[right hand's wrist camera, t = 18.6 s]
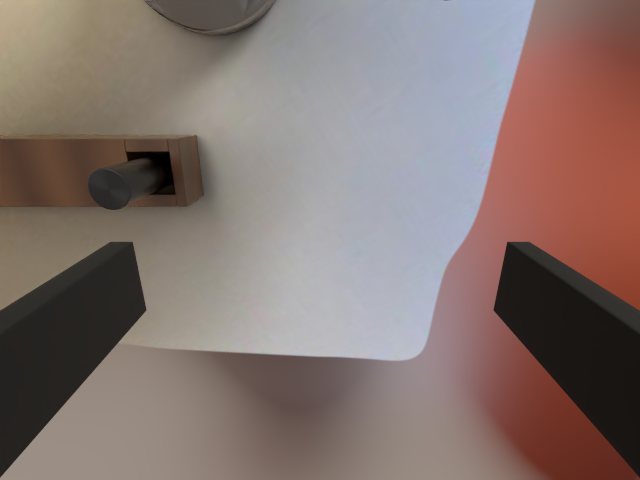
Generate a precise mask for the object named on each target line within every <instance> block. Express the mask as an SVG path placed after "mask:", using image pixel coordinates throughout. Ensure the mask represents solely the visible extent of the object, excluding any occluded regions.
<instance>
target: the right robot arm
mask: <svg viewBox="0 0 640 480" xmlns="http://www.w3.org/2000/svg"><path fill="white" fill-rule="evenodd" d="M144 1H145V2H146V3H147V4H148V5H149V6H150V7H152V8H153V9H154V10H155V11H157V12H158V13H159V14H160V15H162V16H164V17H165V18H167V19H168V20H170V21H172V22H173V23H175V24H177V25H179V26H181V27H183V28H185V29H187V30H190V31H193V32H197V33H201V34H207V35H223V34H229V33H233V32H236V31H239V30H241V29H244V28H246V27H248V26H249V25H251V24H253V23H254V22H256V21H257V20H258V19H259V18H261V17H262V16H263V15H264V14H265V13H266V12H267V11H268V10H269V8H270V7H271V6H272V5H273V3H274V2H275V0H144ZM446 1H447V0H446ZM145 311H146V306H145V301H144V296H143V291H142V286H141V281H140V276H139V271H138V266H137V261H136V256H135V251H134V246H133V242H110V243H108V244H107V245H105V246H103V247H102V248H100V249H99V250H97V251H95V252H94V253H92V254H91V255H89V256H87V257H86V258H84V259H83V260H81V261H79V262H78V263H76V264H75V265H73V266H71V267H70V268H68V269H67V270H65V271H63V272H62V273H60V274H59V275H57V276H55V277H54V278H52V279H51V280H49V281H47V282H46V283H44V284H42V285H41V286H39V287H38V288H36V289H34V290H33V291H31V292H30V293H28V294H26V295H25V296H23V297H22V298H20V299H18V300H17V301H15V302H14V303H12V304H10V305H9V306H7V307H6V308H4V309H2V310H1V311H0V477H1V476H2V475H3V474H4V472H5V471H6V470H7V469H8V468H9V467H10V466H11V465H12V463H13V462H14V461H15V460H16V459H17V458H18V457H19V455H20V454H21V453H22V452H23V451H24V450H25V449H26V447H27V446H28V445H29V444H30V443H31V442H32V440H33V439H34V438H35V437H36V436H37V435H38V434H39V432H40V431H41V430H42V429H43V428H44V427H45V426H46V424H47V423H48V422H49V421H50V420H51V419H52V418H53V416H54V415H55V414H56V413H57V412H58V411H59V410H60V408H61V407H62V406H63V405H64V404H65V403H66V402H67V400H68V399H69V398H70V397H71V396H72V395H73V394H74V392H75V391H76V390H77V389H78V388H79V387H80V386H81V384H82V383H83V382H84V381H85V380H86V379H87V378H88V376H89V375H90V374H91V373H92V372H93V371H94V370H95V368H96V367H97V366H98V365H99V364H100V363H101V361H102V360H103V359H104V358H105V357H106V356H107V355H108V354H109V352H110V351H111V350H112V349H113V348H114V347H115V346H116V344H117V343H118V342H119V341H120V340H121V339H122V338H123V336H124V335H125V334H126V333H127V332H128V331H129V330H130V328H131V327H132V326H133V325H134V324H135V323H136V322H137V320H138V319H139V318H140V317H141V316H142V315H143V314H144V312H145ZM494 311H495V312H496V314H497V315H498V316H499V317H500V318H501V319H502V320H503V322H504V323H505V324H506V325H507V326H508V327H509V328H510V330H511V331H512V332H513V333H514V334H515V335H516V336H517V338H518V339H519V340H520V341H521V342H522V343H523V344H524V345H525V347H526V348H527V349H528V350H529V351H530V352H531V354H532V355H533V356H534V357H535V358H536V359H537V360H538V362H539V363H540V364H541V365H542V366H543V367H544V368H545V370H546V371H547V372H548V373H549V374H550V375H551V376H552V378H553V379H554V380H555V381H556V382H557V383H558V384H559V386H560V387H561V388H562V389H563V390H564V391H565V392H566V394H567V395H568V396H569V397H570V398H571V399H572V400H573V402H574V403H575V404H576V405H577V406H578V407H579V408H580V410H581V411H582V412H583V413H584V414H585V415H586V416H587V418H588V419H589V420H590V421H591V422H592V423H593V424H594V426H595V427H596V428H597V429H598V430H599V431H600V432H601V434H602V435H603V436H604V437H605V438H606V439H607V440H608V442H609V443H610V444H611V445H612V446H613V447H614V449H615V450H616V451H617V452H618V453H619V454H620V455H621V456H622V458H623V459H624V460H625V461H626V462H627V463H628V465H629V466H630V467H631V468H632V469H633V470H634V471H635V472H636V474H637V475H638V476H639V477H640V311H639V310H638V309H636V308H634V307H633V306H631V305H630V304H628V303H626V302H625V301H623V300H622V299H620V298H618V297H617V296H615V295H613V294H612V293H610V292H609V291H607V290H605V289H604V288H602V287H601V286H599V285H597V284H596V283H594V282H593V281H591V280H589V279H588V278H586V277H585V276H583V275H581V274H580V273H578V272H577V271H575V270H573V269H572V268H570V267H569V266H567V265H565V264H564V263H562V262H561V261H559V260H557V259H556V258H554V257H553V256H551V255H549V254H548V253H546V252H545V251H543V250H541V249H540V248H538V247H536V246H535V245H533V244H532V243H530V242H507V246H506V251H505V256H504V261H503V266H502V271H501V276H500V281H499V286H498V291H497V296H496V301H495V306H494Z"/></svg>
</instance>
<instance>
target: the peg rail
mask: <svg viewBox="0 0 640 480" xmlns="http://www.w3.org/2000/svg"><path fill="white" fill-rule="evenodd" d="M151 152H169V153H170V160H171V166H172V173H173V180H174V184H170V185H168V186H166V187H164V188H162V189H160V190H158V191H156V192H154V193H152V194H150V195H148V196H146V197H143V198H141V199H139V200H137V201H135V202H133V203H131V204H129V205H127V206H188V205H190V204H191V203H193V202H194V201H195V200H197V199H198V198H200V197H201V196H202V195H203V187H202V179H201V171H200V162H199V154H198V146H197V137H196V135H0V206H100V205H99V204H97V203H96V202H95V201H94V200H93V198H92V197H91V195H90V193H89V190H88V180H89V177H90V175H91V174H92V173H93V172H94V171H96V170H98V169H101V168H105V167H108V166H112V165H116V164H120V163H124V162H128V161H132V160H135V159H139V158H143V157H147V156H151V155H152V153H151Z"/></svg>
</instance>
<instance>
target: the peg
mask: <svg viewBox="0 0 640 480" xmlns="http://www.w3.org/2000/svg"><path fill="white" fill-rule="evenodd" d="M172 183H174V180H173V173H172V166H171V160H170V153H169V152H162V153H159V154H155V155H151V156H147V157H143V158H139V159H135V160H132V161H128V162H124V163H120V164H116V165H112V166H108V167H105V168H101V169H98V170H96V171H94V172H93V173H92V174H91V175H90V177H89V180H88V190H89V193H90V195H91V197H92V198H93V200H94V201H95V202H96V203H97V204H99V205H100V206H102V207H104V208H107V209H111V210H117V209H121V208H123V207H125V206H127V205H129V204H131V203H133V202H135V201H137V200H139V199H141V198H143V197H146V196H148V195H150V194H152V193H154V192H156V191H158V190H160V189H162V188H164V187H166V186H168V185H170V184H172Z"/></svg>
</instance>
